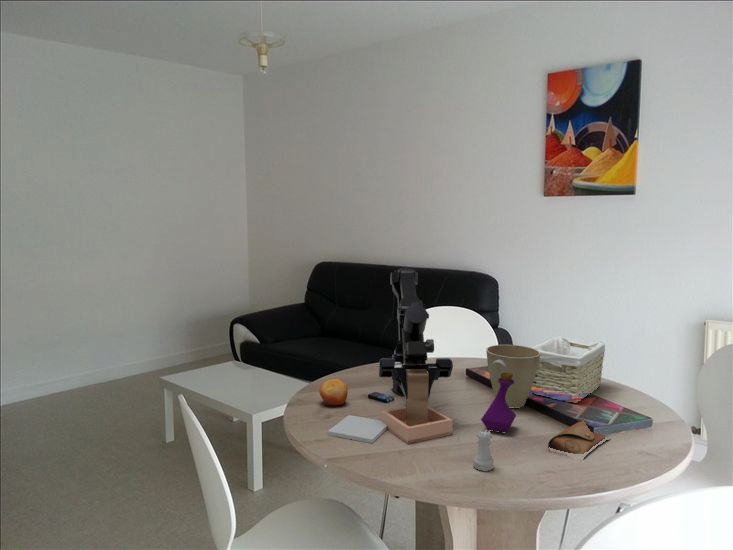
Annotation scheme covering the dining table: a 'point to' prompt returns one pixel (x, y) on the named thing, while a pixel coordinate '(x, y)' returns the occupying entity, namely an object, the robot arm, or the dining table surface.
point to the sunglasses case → (576, 439)
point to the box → (411, 434)
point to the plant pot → (513, 370)
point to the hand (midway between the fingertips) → (417, 398)
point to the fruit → (334, 392)
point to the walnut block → (417, 396)
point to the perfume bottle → (500, 406)
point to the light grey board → (358, 429)
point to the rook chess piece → (483, 452)
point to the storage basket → (569, 366)
